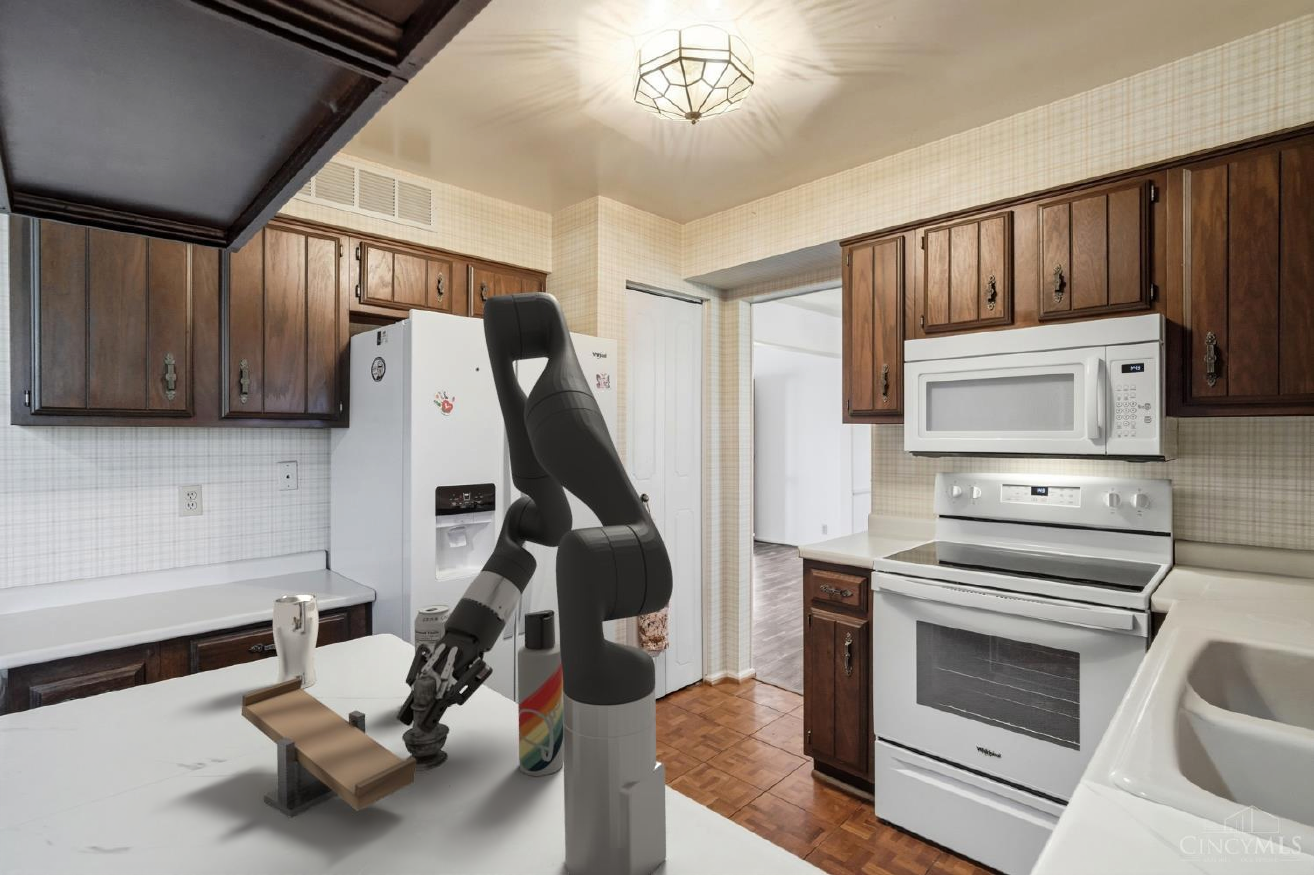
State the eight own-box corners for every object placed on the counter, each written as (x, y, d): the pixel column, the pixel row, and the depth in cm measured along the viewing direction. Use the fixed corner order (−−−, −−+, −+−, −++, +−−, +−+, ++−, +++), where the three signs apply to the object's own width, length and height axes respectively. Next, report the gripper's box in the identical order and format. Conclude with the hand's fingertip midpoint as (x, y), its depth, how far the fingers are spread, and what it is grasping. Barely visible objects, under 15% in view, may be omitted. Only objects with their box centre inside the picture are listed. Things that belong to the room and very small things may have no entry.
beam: (414, 781, 75) (416, 759, 75) (357, 811, 69) (359, 787, 69) (296, 696, 89) (298, 677, 89) (241, 714, 83) (242, 694, 83)
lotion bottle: (529, 781, 80) (527, 619, 80) (512, 762, 84) (510, 609, 84) (571, 768, 83) (569, 611, 83) (553, 750, 87) (550, 602, 87)
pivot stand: (379, 774, 82) (378, 715, 82) (290, 817, 73) (289, 751, 73) (352, 761, 85) (351, 705, 85) (263, 801, 76) (263, 738, 76)
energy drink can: (463, 698, 106) (461, 606, 106) (433, 712, 100) (431, 615, 100) (437, 691, 109) (436, 602, 109) (407, 704, 103) (406, 610, 103)
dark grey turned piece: (434, 773, 82) (433, 678, 82) (393, 769, 83) (391, 675, 83) (458, 751, 88) (456, 662, 88) (418, 747, 89) (417, 660, 89)
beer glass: (282, 678, 115) (281, 594, 115) (324, 675, 117) (323, 592, 117) (266, 693, 109) (265, 604, 109) (311, 690, 110) (310, 602, 110)
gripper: (436, 590, 95) (361, 701, 85) (504, 602, 88) (429, 726, 78) (465, 617, 100) (397, 726, 90) (532, 631, 92) (465, 752, 82)
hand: (412, 725), depth 84 cm, fingers closed on dark grey turned piece, 3 cm apart
